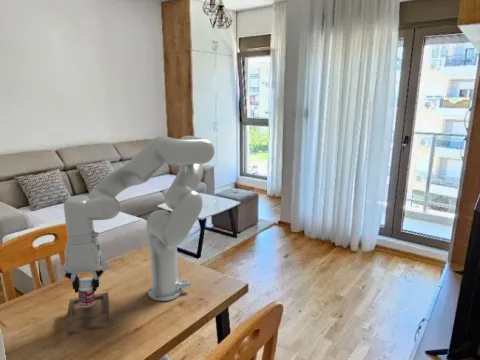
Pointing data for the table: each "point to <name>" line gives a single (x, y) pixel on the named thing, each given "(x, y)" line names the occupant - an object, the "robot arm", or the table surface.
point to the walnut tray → (88, 315)
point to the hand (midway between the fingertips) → (86, 289)
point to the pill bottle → (86, 292)
